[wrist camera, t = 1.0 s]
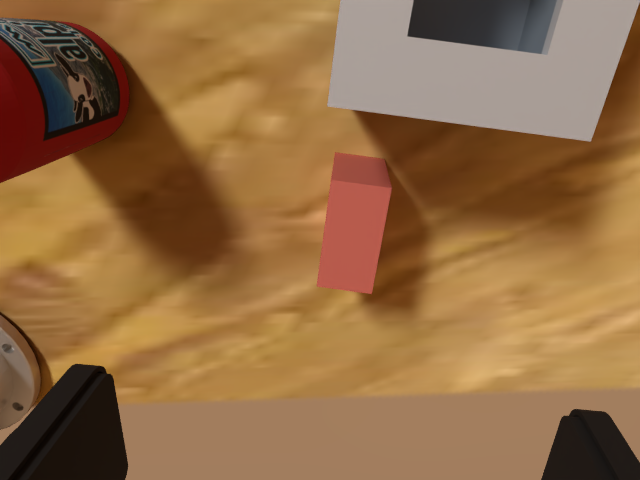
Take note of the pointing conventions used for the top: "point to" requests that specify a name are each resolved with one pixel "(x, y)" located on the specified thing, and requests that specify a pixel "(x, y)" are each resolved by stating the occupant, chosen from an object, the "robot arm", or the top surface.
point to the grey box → (482, 61)
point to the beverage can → (55, 92)
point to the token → (354, 223)
